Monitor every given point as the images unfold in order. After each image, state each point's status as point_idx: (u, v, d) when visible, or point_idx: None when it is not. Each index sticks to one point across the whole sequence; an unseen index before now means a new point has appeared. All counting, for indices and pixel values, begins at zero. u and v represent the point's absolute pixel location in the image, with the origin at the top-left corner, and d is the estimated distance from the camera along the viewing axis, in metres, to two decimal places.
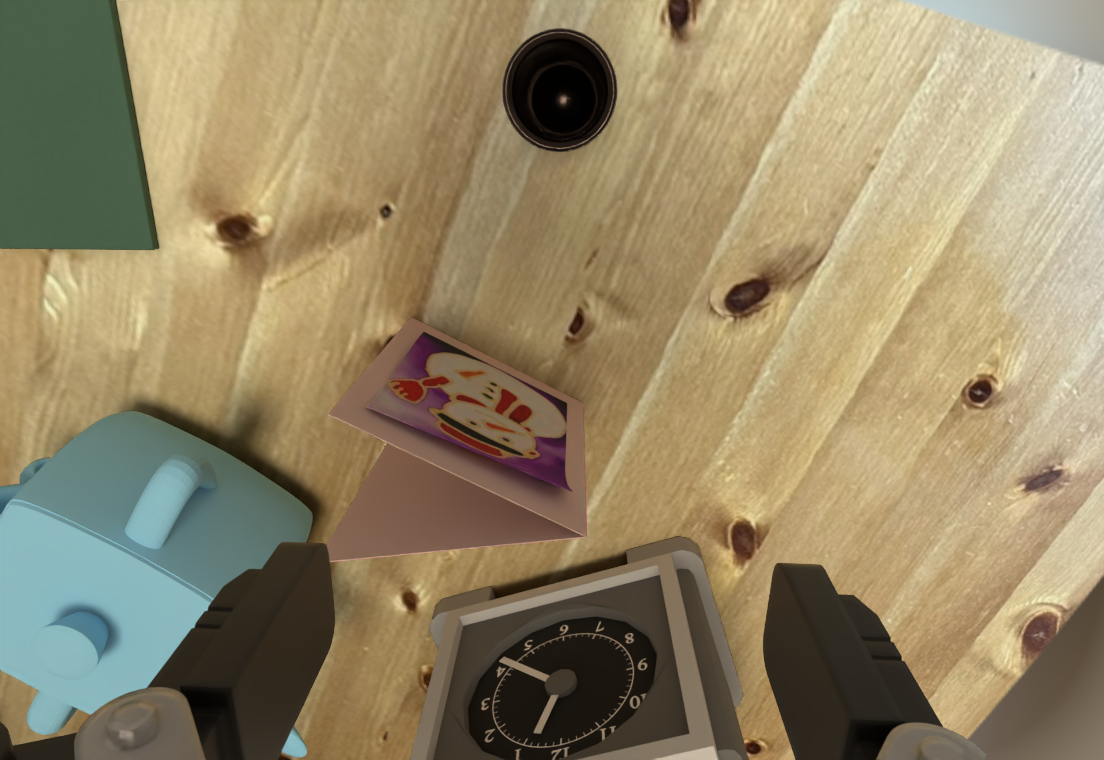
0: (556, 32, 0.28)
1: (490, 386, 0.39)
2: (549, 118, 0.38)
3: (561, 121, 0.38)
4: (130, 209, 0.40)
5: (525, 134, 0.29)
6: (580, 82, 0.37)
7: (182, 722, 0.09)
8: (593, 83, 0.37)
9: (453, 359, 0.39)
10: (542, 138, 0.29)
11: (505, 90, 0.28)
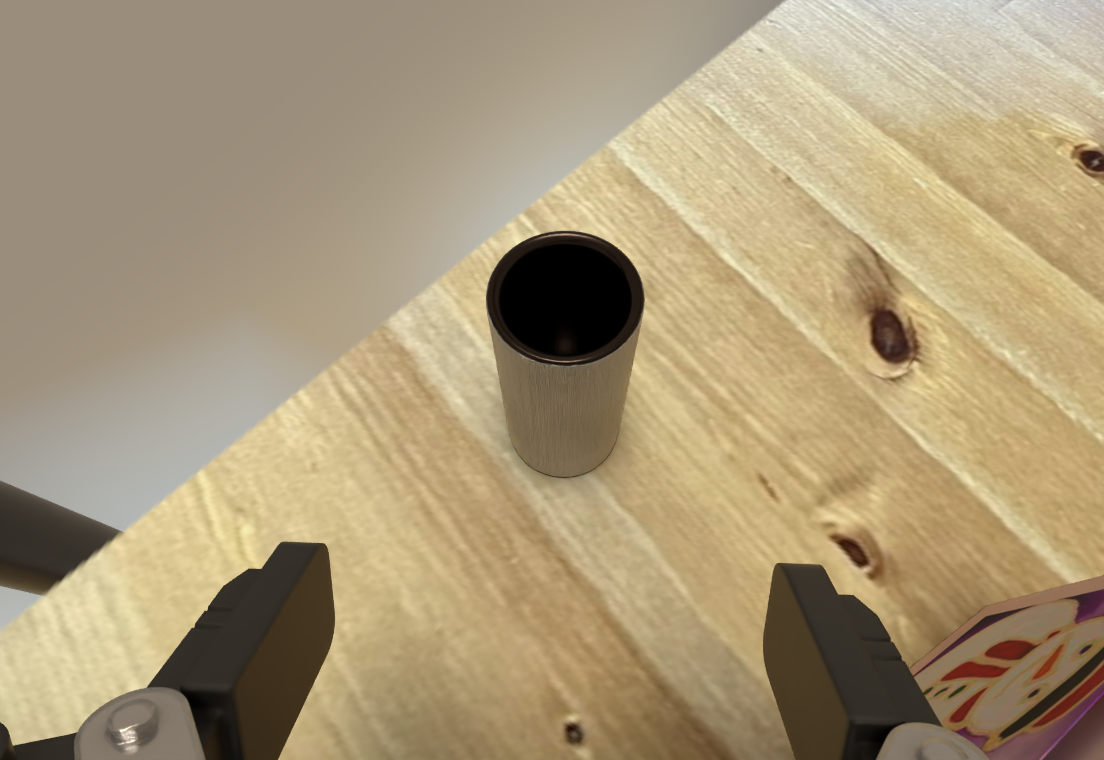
0: (499, 267, 0.21)
1: (932, 693, 0.21)
2: None
3: None
4: None
5: (592, 355, 0.20)
6: None
7: (182, 722, 0.09)
8: None
9: None
10: (608, 341, 0.20)
11: (526, 351, 0.20)
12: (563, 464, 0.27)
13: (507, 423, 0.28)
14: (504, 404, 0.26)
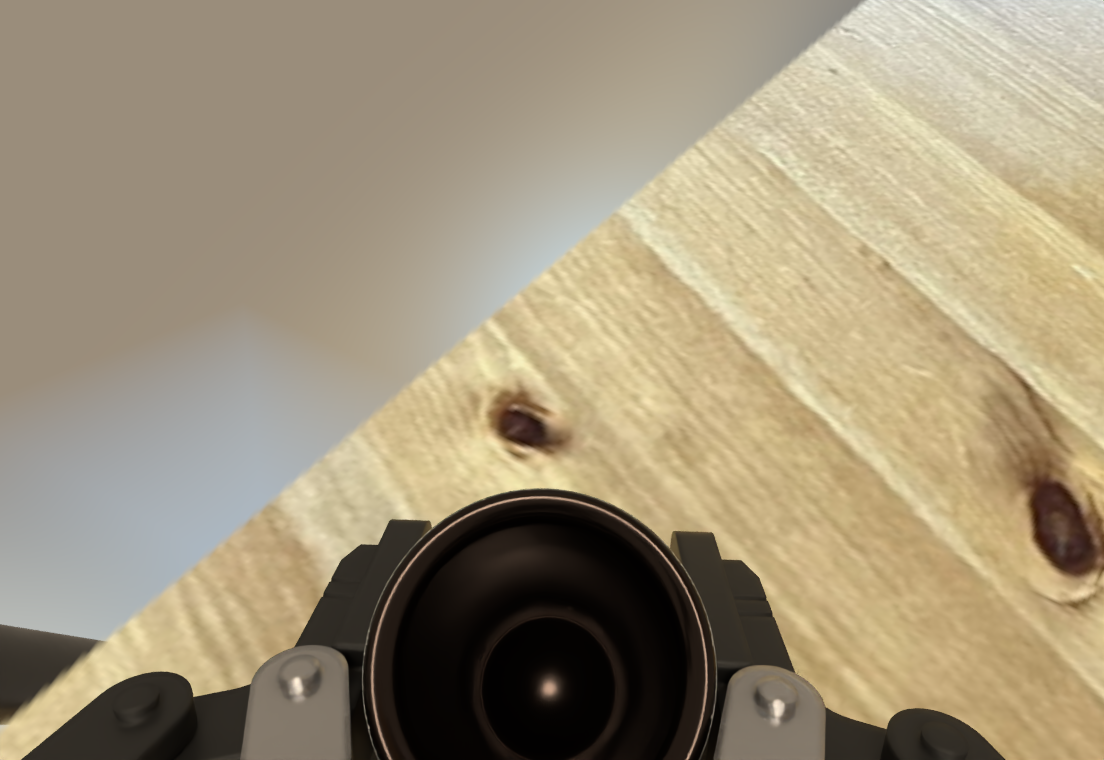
0: (395, 585, 0.10)
1: None
2: (567, 735, 0.17)
3: (585, 713, 0.17)
4: None
5: None
6: (536, 637, 0.18)
7: (344, 676, 0.09)
8: (552, 614, 0.19)
9: None
10: None
11: None
12: None
13: None
14: None
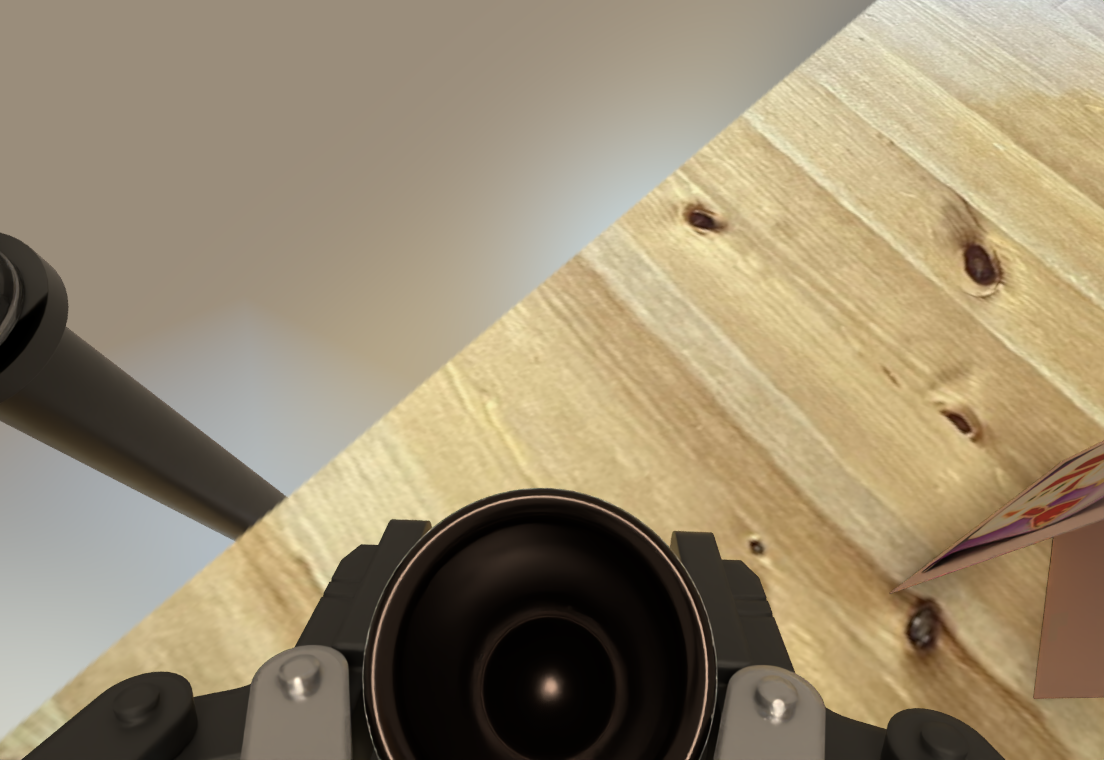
0: (396, 584, 0.10)
1: (1037, 497, 0.30)
2: (568, 735, 0.17)
3: (586, 713, 0.17)
4: None
5: None
6: (537, 637, 0.18)
7: (345, 676, 0.09)
8: (552, 614, 0.19)
9: (982, 530, 0.30)
10: None
11: None
12: None
13: None
14: None
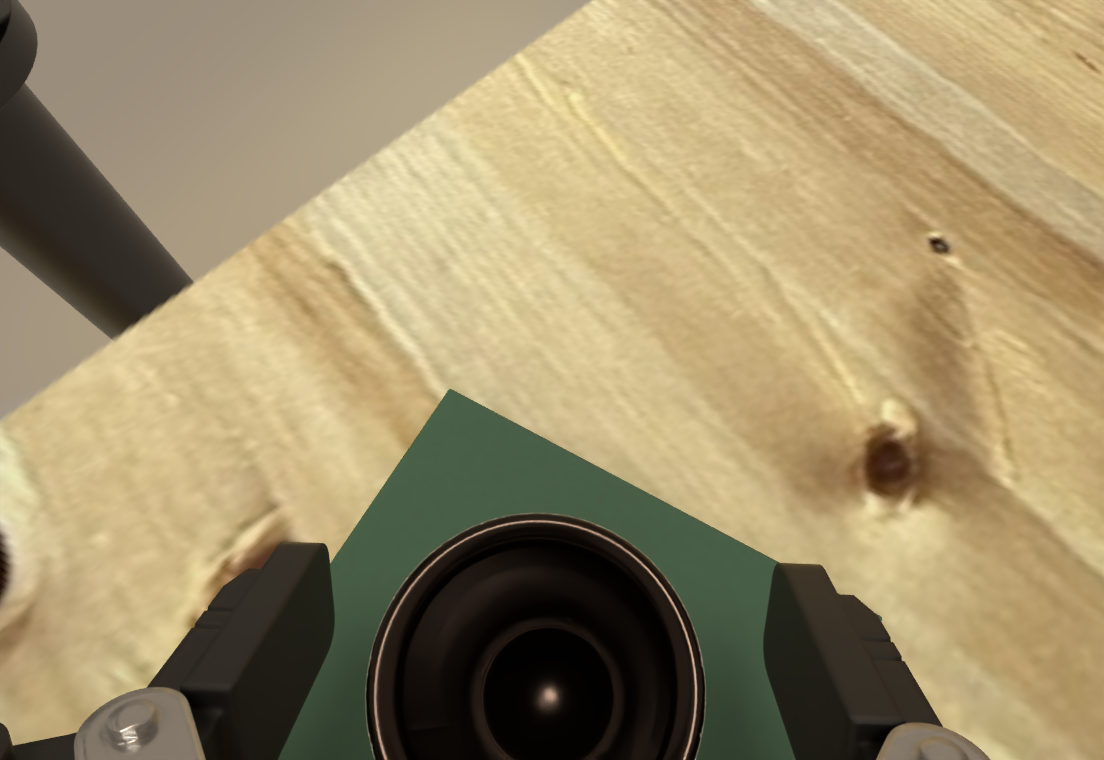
0: (397, 607, 0.10)
1: None
2: (566, 744, 0.18)
3: (584, 722, 0.18)
4: None
5: None
6: (536, 648, 0.19)
7: (182, 722, 0.09)
8: (551, 624, 0.19)
9: None
10: None
11: None
12: None
13: None
14: None
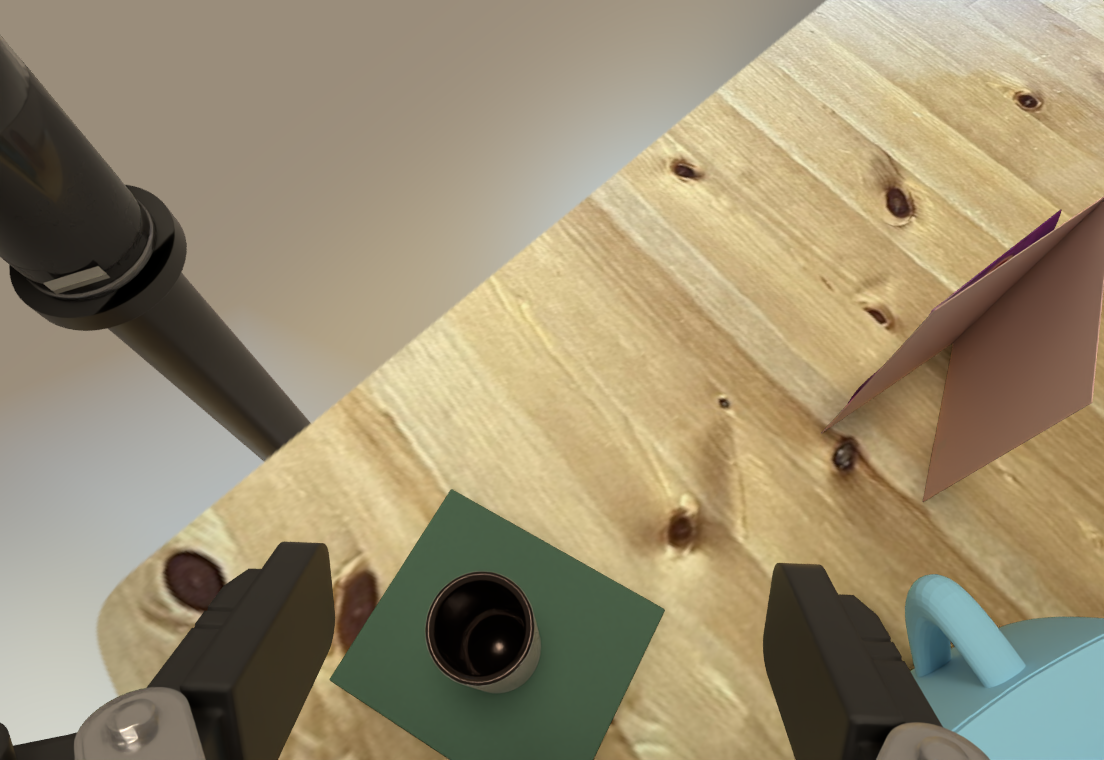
0: (434, 603, 0.30)
1: (921, 352, 0.42)
2: None
3: None
4: (621, 603, 0.40)
5: (495, 678, 0.29)
6: (493, 623, 0.39)
7: (182, 722, 0.09)
8: (500, 613, 0.39)
9: None
10: (507, 664, 0.29)
11: (450, 674, 0.29)
12: (494, 692, 0.36)
13: None
14: None
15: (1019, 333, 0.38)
